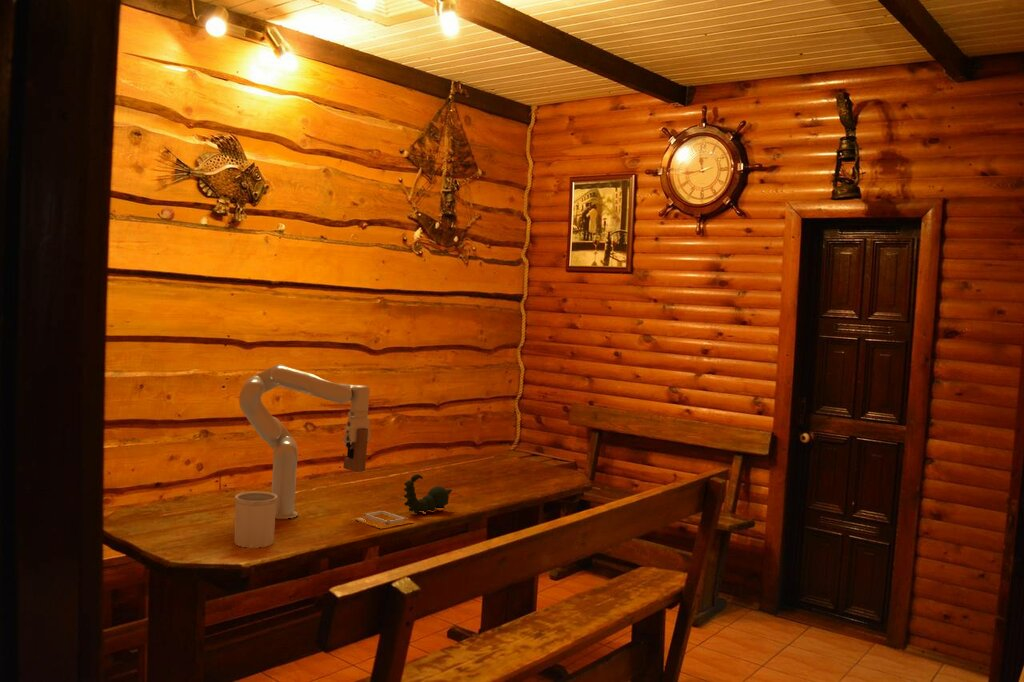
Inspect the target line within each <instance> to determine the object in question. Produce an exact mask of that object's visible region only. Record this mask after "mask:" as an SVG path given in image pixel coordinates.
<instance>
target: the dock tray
mask: <svg viewBox="0 0 1024 682" xmlns="http://www.w3.org/2000/svg"><path fill="white" fill-rule="evenodd" d="M380 514H384V515H387V516H389V517H392V518H395V520H390V521H387V520H384V519H381V518H378V517H375V516H376V515H380ZM363 517H364V518H368V519H370V520H374V521H377V522H380V523H383V524H386V525H390V524H395V523H400V522H404V521H406V518H407V517H403V516H400V515H397V514H394V513H392V514H391V512H388V511H384V510H378V511H373V512H367V513H364V514H363ZM355 519H358V520H361V521H364V520H365V519H363V518H361V517H356V518H355ZM364 522H366V520H365V521H364ZM367 523H368V522H367ZM374 525H375V524H374ZM376 526H377V525H376Z"/></svg>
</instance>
